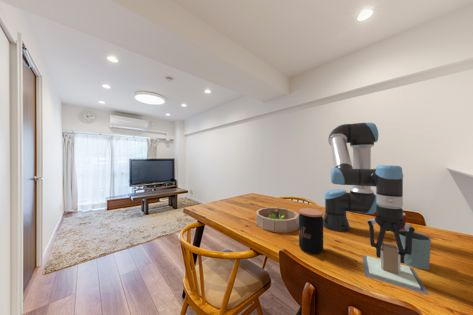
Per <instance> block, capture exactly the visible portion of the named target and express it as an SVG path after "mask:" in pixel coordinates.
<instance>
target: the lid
mask: <svg viewBox="0 0 473 315" xmlns="http://www.w3.org/2000/svg"><path fill="white" fill-rule="evenodd" d="M381 248H382V249H383V268H381V267H380V258H378V257H372V256H368V255H366V256H367V263H368V269H369V274H370V275H372V276H375V277H378V278H382V279H385V280H388V281H392V282H395V283H399V284H402V285H405V286H409V287H412V288H415V289H419V290H421V288H420V286H419V284H418V282H417V280H416V279H415V277H414V275H413V273H412V271H411V270H410V268H409V267H410V266H409V265H406V264H405V265H404V264H402V263H400V270H401V273H398V247H397V244H393V243H387V242H384V241H383V242H382V246H381Z"/></svg>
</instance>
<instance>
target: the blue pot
mask: <svg viewBox="0 0 473 315" xmlns="http://www.w3.org/2000/svg"><path fill="white" fill-rule="evenodd" d="M399 235H400V239H401V243H402V246H403V249H405V238H406V230H399ZM431 244H432V238H431V237H430V236H428V235H427V234H423V233H421V232H417V231H414V233H413V234H412V254H411V255H408V254H406V255H405V256H404V264H405V265H406V266H409V267H411V268H413V269H418V270H429V269H430V261H431V260H430V258H431ZM398 252H399V250H398Z"/></svg>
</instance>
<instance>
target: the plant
mask: <svg viewBox="0 0 473 315" xmlns="http://www.w3.org/2000/svg"><path fill="white" fill-rule="evenodd" d="M275 211H276V213H275V212H274V211H269V213H271V212H273V213H274V214H275V215H273V214H272V216H271V215H269V216H270V217H266V218H271V219H281V220H286V219H288V218H283V217H284V215H283V216H281V217H280V215H279V212H281V210H280V209H279V210H277V209H276V210H275Z"/></svg>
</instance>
